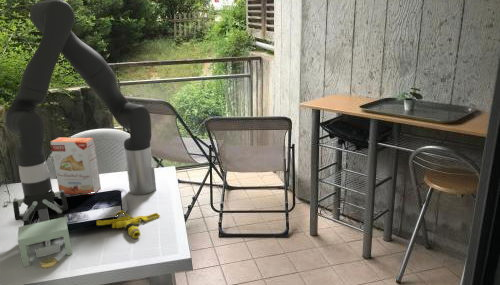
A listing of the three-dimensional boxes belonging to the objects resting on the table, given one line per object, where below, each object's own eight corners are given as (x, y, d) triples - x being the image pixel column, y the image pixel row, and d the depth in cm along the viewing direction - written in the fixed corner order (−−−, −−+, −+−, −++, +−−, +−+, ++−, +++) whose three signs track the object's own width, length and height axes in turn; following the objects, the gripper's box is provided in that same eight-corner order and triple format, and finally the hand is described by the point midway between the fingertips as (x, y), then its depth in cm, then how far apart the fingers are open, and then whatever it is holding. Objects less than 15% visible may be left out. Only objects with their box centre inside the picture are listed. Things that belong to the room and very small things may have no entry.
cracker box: (58, 194, 151) (49, 141, 145) (67, 187, 157) (58, 136, 150) (94, 195, 149) (85, 141, 143) (101, 188, 155) (94, 136, 149)
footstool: (69, 240, 119) (65, 216, 116) (72, 254, 112) (67, 228, 109) (24, 252, 113) (18, 227, 111) (23, 266, 107) (17, 240, 104)
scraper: (57, 227, 127) (52, 201, 124) (60, 251, 113) (55, 223, 111) (36, 232, 124) (30, 205, 121) (36, 257, 111) (30, 228, 108)
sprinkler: (109, 234, 113) (93, 213, 125) (108, 247, 114) (93, 225, 126) (171, 221, 125) (152, 204, 136) (171, 233, 126) (151, 214, 137)
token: (57, 259, 110) (56, 255, 110) (57, 266, 107) (56, 263, 107) (41, 263, 109) (40, 259, 108) (40, 270, 105) (40, 267, 105)
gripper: (61, 168, 123) (69, 215, 128) (8, 177, 117) (18, 227, 122) (62, 176, 117) (71, 226, 122) (6, 186, 111) (18, 238, 116)
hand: (45, 226), depth 122 cm, fingers open, 8 cm apart
